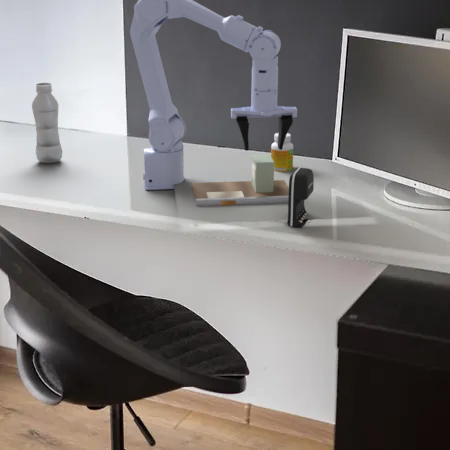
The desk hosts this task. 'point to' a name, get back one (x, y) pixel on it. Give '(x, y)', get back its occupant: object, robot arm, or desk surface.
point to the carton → (262, 173)
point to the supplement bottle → (282, 154)
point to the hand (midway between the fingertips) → (263, 148)
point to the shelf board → (237, 193)
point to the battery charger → (299, 195)
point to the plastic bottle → (46, 124)
